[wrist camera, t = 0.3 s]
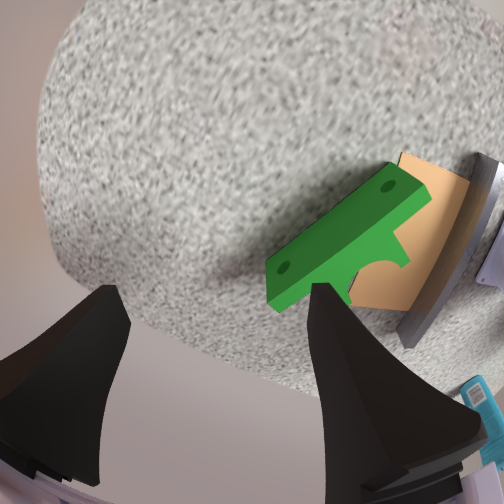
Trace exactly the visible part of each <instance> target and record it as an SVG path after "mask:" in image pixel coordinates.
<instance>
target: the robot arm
mask: <svg viewBox="0 0 504 504" xmlns="http://www.w3.org/2000/svg"><path fill="white" fill-rule="evenodd" d="M475 280H476V282H477V283H479V284H485V285H490V286H496V287H498V288H499V289H500V290H501V292H502V293H503V294H504V221H503V224H502V226H501V228H500V230H499V233H498V235H497V237H496V239H495V241H494V243H493V246H492V248H491V250H490V252H489V254H488V256H487V258H486V259H485V261H484V263H483V265H482V267H481V269H480V271H479V273H478V274H477V276H476V279H475ZM130 327H131V321H130V319H129V317H128V314H127V312H126V310H125V307H124V305H123V302H122V300H121V297H120V295H119V292H118V289H117V287H116V285H102V286H100V287H99V288H97V289H96V290H95V291H93V292H92V293H91V294H90V295H88V296H87V297H86V298H85V299H84V300H83V301H81V302H80V303H79V304H78V305H77V306H75V307H74V308H73V309H72V310H71V311H69V312H68V313H67V314H66V315H65V316H63V317H62V318H61V319H60V320H59V321H57V322H56V323H55V324H54V325H53V326H51V327H50V328H49V329H47V330H46V331H45V332H44V333H42V334H41V335H40V336H38V337H37V338H36V339H35V340H33V341H31V342H30V343H29V344H27V345H26V346H24V347H23V348H21V349H19V350H18V351H16V352H14V353H13V354H11V355H10V356H8V357H6V358H4V359H3V360H1V361H0V504H69V503H70V504H113V503H109V502H107V501H104V500H101V499H98V498H96V497H93V496H90V495H88V494H85V493H83V492H80V491H78V490H76V489H73V488H71V487H69V486H67V485H65V484H62V483H61V482H62V478H63V479H65V480H67V481H69V482H71V481H72V479H74V480H77V481H79V482H82V483H84V484H87V485H89V486H92V487H94V486H97V485H98V484H99V483H100V479H99V450H100V437H101V429H102V422H103V416H104V411H105V406H106V401H107V397H108V394H109V391H110V388H111V385H112V382H113V379H114V377H115V374H116V371H117V368H118V366H119V363H120V360H121V358H122V355H123V352H124V350H125V347H126V344H127V340H128V336H129V331H130ZM307 331H308V340H309V350H310V354H311V359H312V363H313V368H314V373H315V377H316V382H317V387H318V391H319V396H320V401H321V407H322V415H323V427H324V441H325V464H326V496H325V504H504V498H503V493H502V489H501V484H500V480H499V476H498V472H497V468H496V465H495V462H494V461H492V462H490V463H489V464H487V465H485V466H484V467H482V468H480V469H478V470H477V471H475V472H473V473H471V474H469V475H467V476H465V477H463V478H461V479H460V476H459V472H461V471H463V466H462V462H461V461H462V460H464V459H465V458H467V457H468V456H470V455H471V454H473V453H474V452H476V451H477V450H479V449H480V448H481V447H483V446H484V445H485V444H486V443H487V441H488V438H489V437H488V434H487V431H486V429H485V426H484V423H483V420H482V418H481V416H480V413H478V412H476V411H474V410H472V409H470V408H469V407H467V406H465V405H463V404H461V403H459V402H457V401H455V400H453V399H451V398H450V397H448V396H447V395H445V394H443V393H442V392H440V391H439V390H437V389H435V388H434V387H433V386H431V385H430V384H428V383H427V382H425V381H424V380H423V379H421V378H420V377H419V376H417V375H416V374H415V373H413V372H412V371H411V370H410V369H408V368H407V367H406V366H405V365H403V364H402V363H401V362H400V361H399V360H398V359H397V358H395V357H394V356H393V355H392V354H391V353H390V352H389V351H388V350H387V349H386V348H385V347H384V346H383V345H382V344H381V343H380V342H379V341H378V340H377V339H376V338H375V337H374V336H373V335H372V334H371V333H370V332H369V330H368V329H367V328H366V327H365V326H364V325H363V324H362V322H361V321H360V320H359V319H358V318H357V317H356V315H355V314H354V313H353V312H352V311H351V309H350V308H349V307H348V306H347V304H346V303H345V302H344V301H343V299H342V298H341V297H340V295H339V294H338V293H337V292H336V290H335V289H334V288H333V286H332V285H331V284H330V283H329V282H326V283H312V285H311V295H310V303H309V312H308V320H307Z"/></svg>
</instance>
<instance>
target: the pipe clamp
mask: <svg viewBox="0 0 504 504" xmlns="http://www.w3.org/2000/svg"><path fill="white" fill-rule="evenodd" d="M431 200H432V197H431V195H430V194H429V192H428V190H427V188H426V186H425V184H424V183H422V182H421V181H420V180H418V179H417V178H415V177H414V176H412V175H411V174H409V173H408V172H406V171H405V170H403V169H402V168H400V167H398V166H397V165H395V164H394V163H392V162H390V163H389V164H387V165H386V166H385V167H384V168H382V169H381V170H380V171H379V172H377V173H376V174H375V175H374V176H373V177H371V178H370V179H369V180H368V181H366V182H365V183H364V184H363V185H361V186H360V187H359V188H358V189H356V190H355V191H354V192H353V193H352V194H350V195H349V196H348V197H347V198H345V199H344V200H343V201H342V202H340V203H339V204H338V205H337V206H335V207H334V208H333V209H332V210H330V211H329V212H328V213H327V214H325V215H324V216H323V217H321V218H320V219H319V220H318V221H316V222H315V223H314V224H313V225H311V226H310V227H309V228H308V229H306V230H305V231H304V232H303V233H301V234H300V235H299V236H297V237H296V238H295V239H294V240H292V241H291V242H290V243H289V244H287V245H286V246H285V247H283V248H282V249H281V250H280V251H278V252H277V253H276V254H274V255H273V256H272V257H271V258H269V259H268V260H267V261H266V289H267V304H268V305H270V306H271V307H272V308H273V309H275V310H276V311H277V312H278V313H280V312H282V311H283V310H285V309H286V308H288V307H289V306H291V305H292V304H294V303H295V302H297V301H298V300H300V299H301V298H303V297H304V296H306V295H307V294H309V293H310V292H311V285H312V283H326V282H329V283H330V284H331V285H332V286H333V288H334V289H335V290H336V292H337V293H338V294H339V295H340V297H341V298H342V299H343V301H344V302H345V303H346V304H347V306H349V305H350V304H352V301H351V299H350V296H349V293H348V287H349V284H350V282H351V280H352V278H353V277H354V275H355V274H356V273H357V272H358V271H359V270H360V269H362V268H363V267H365V266H366V265H368V264H370V263H373V262H376V261H382V260H387V261H392V262H394V263H396V264H398V265H399V266H400V267H401V268H403V267H404V266H405V265H406V264H408V263H409V262H410V261H411V260H410V259H409V257H408V255H407V254H406V252H405V250H404V249H403V247H402V246H401V244H400V242H399V241H398V239H397V238H396V236H395V235H394V233H393V231H394V230H396V229H397V228H398V227H399V226H401V225H402V224H403V223H404V222H406V221H407V220H408V219H409V218H411V217H412V216H413V215H414V214H415V213H417V212H418V211H419V210H420V209H422V208H423V207H424V206H425V205H426V204H428V203H429V202H430V201H431Z"/></svg>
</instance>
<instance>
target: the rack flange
mask: <svg viewBox="0 0 504 504" xmlns="http://www.w3.org/2000/svg"><path fill="white" fill-rule="evenodd" d="M398 167H400V168H402V169H403V170H405V171H406V172H408V173H409V174H411V175H412V176H414V177H415V178H417V179H418V180H420V181H421V182H422V183H424V184H425V186H426V188H427V190H428V192H429V194H430V195H431V197H432V200H431V201H430V202H429V203H428V204H426V205H425V206H424V207H423V208H422V209H420V210H419V211H418V212H417V213H415V214H414V215H413V216H412V217H411V218H409V219H408V220H407V221H406V222H404V223H403V224H402V225H401V226H399V227H398V228H397V229H396V230H394V231H393V233H394V235H395V236H396V238H397V239H398V241H399V242H400V244H401V246H402V247H403V249H404V250H405V252H406V254H407V255H408V257H409V259H410V260H411V261H410V262H409V263H408V264H406V265H405V266H404V267H403V268H401V267H400V266H399V265H398V264H396V263H394V262H392V261H387V260H382V261H376V262H373V263H370V264H368V265H366V266H365V267H363V268H362V269H360V270H359V272H358V274H357V276H356V278H355V281H354V283H353V285H352V287H351V289H350V291H349V296H350V299H351V301H352V304H350V305H349V306H357V307H367V308H377V309H388V310H400V311H408V312H407V313H406V315H405V316H404V318H403V320H402V321H401V323H400V324H399V326H398V327H397V329H396V330H397V333H398V335H399V337H400V340H401V342H402V344H403V347H404V348H414V347H415V346H416V345H417V343H418V342H419V341H420V339H421V338H422V336H423V335H424V334H425V332H426V331H427V329H428V328H429V327H430V325H431V324H432V322H433V321H434V319H435V318H436V316H437V315H438V313H439V312H440V310H441V309H442V307H443V306H444V304H445V302H446V301H447V299H448V298H449V296H450V294H451V293H452V291H453V289H454V288H455V286H456V284H457V282H458V281H459V279H460V277H461V275H462V274H463V272H464V270H465V268H466V266H467V264H468V262H469V261H470V259H471V257H472V255H473V253H474V251H475V249H476V247H477V245H478V243H479V240H480V238H481V236H482V234H483V232H484V230H485V227H486V225H487V223H488V220H489V218H490V216H491V213H492V211H493V208H494V206H495V203H496V200H497V198H498V195H499V192H500V189H501V187H502V184H503V181H504V165H503V164H502V163H500V162H498V161H496V160H494V159H492V158H490V157H488V156H486V155H484V154H482V153H479V154H478V157H477V161H476V164H475V167H474V170H473V173H472V176H471V179H470V181H469V180H467V179H464V178H462V177H460V176H458V175H456V174H454V173H452V172H450V171H447V170H445V169H443V168H441V167H439V166H436V165H434V164H432V163H429V162H427V161H424V160H422V159H419V158H417V157H414V156H412V155H409V154H407V153H404V152H402V155H401V158H400V162H399V165H398Z"/></svg>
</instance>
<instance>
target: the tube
mask: <svg viewBox="0 0 504 504" xmlns="http://www.w3.org/2000/svg"><path fill="white" fill-rule="evenodd" d="M460 393H461V396H462V398H463V401H464V404H465V406H467V407H469V408H470V409H472V410H474V411H476V412H478V413H480V416H481V418H482V420H483V423H484V426H485V429H486V431H487V434H488V437H489V438H488V441H487V443H486V444H485V445H484V446H483V447H481V448H480V449H479V451H480V454H481V459H482V464H483V467H484V466H485V465H487V464H489V463H490V462H492V461H494V462H495V465H496V468H497V472H498V473H500V472H502V471H503V470H504V418H503V416H502V414H501V412H500V410H499V408H498V406H497V404H496V402H495V400H494V398H493V396H492V394H491V392H490V390H489V388H488V386H487V384H486V382H485V380H484V379H483V377H482V375H478V376H476V377H474V378H472V379H471V380H470V381H468V382H467V383H466V384H464V385H463V387H462V388H461V389H460Z"/></svg>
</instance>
